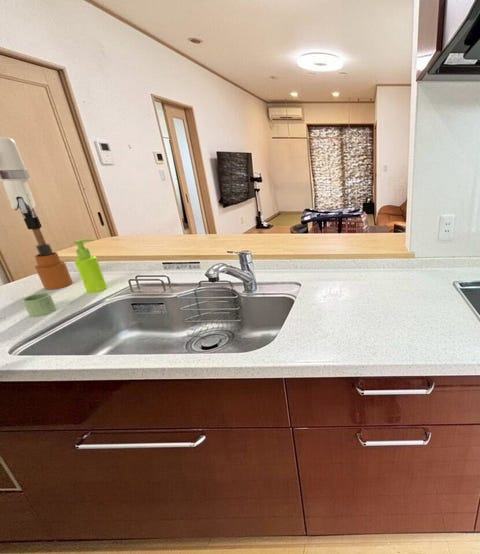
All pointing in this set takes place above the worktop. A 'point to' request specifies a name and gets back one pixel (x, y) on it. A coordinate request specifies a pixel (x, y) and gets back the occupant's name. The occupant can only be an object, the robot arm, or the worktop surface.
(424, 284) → the worktop surface
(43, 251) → the brush
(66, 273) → the orange brown jar
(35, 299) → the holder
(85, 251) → the soap dispenser
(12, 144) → the robot arm
